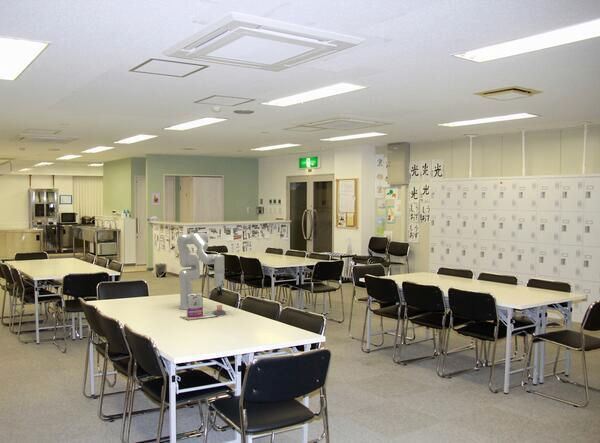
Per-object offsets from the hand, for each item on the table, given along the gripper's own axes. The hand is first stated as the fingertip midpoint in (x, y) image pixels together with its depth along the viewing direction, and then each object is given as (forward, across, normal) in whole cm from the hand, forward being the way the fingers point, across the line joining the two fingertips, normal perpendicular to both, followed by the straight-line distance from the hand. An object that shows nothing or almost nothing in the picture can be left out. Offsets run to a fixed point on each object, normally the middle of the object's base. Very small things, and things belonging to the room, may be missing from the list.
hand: (219, 295), depth 418 cm
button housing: (+15, 0, 0) cm, 15 cm away
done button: (+13, 0, 0) cm, 13 cm away
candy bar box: (+14, 0, -20) cm, 24 cm away
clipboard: (+15, 0, -16) cm, 22 cm away
